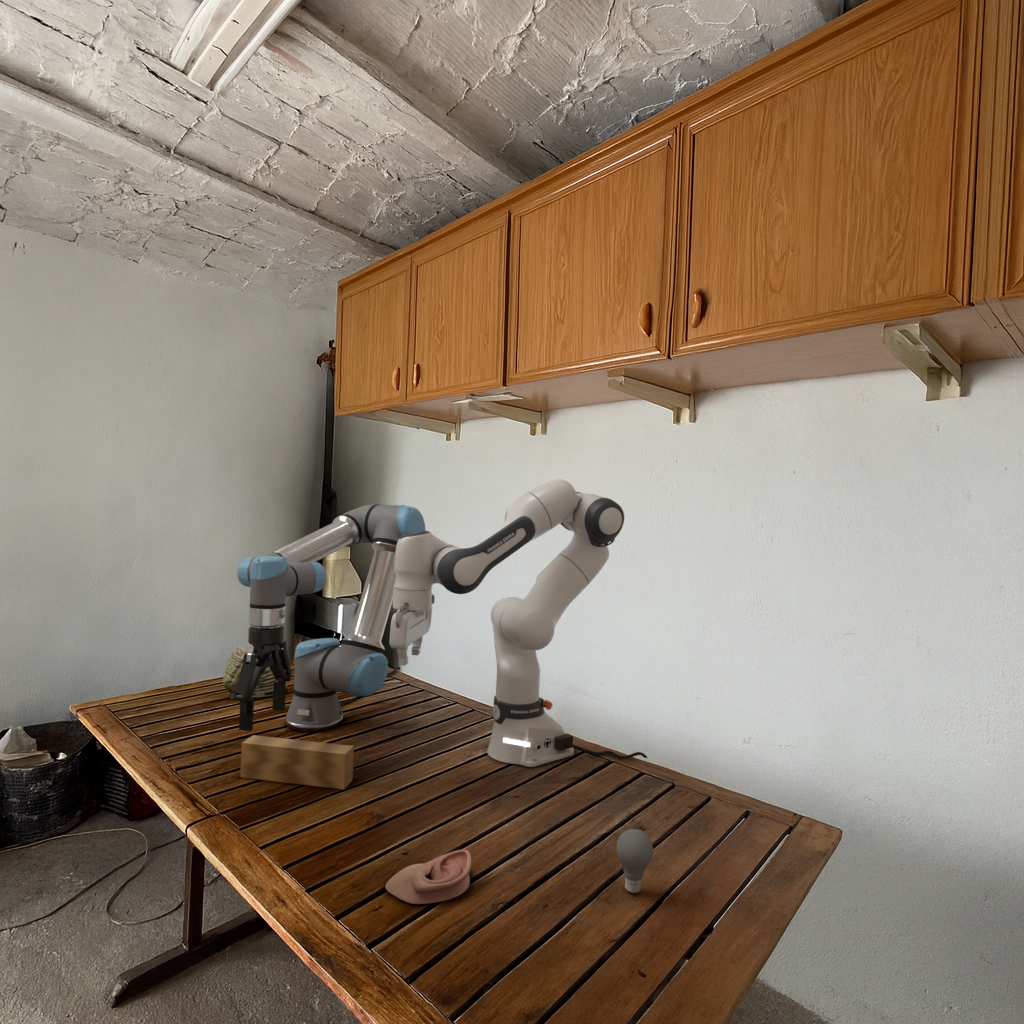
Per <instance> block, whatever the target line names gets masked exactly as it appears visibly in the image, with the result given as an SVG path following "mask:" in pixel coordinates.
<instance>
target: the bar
mask: <svg viewBox="0 0 1024 1024" xmlns="http://www.w3.org/2000/svg"><path fill="white" fill-rule="evenodd" d="M240 750H241V751H240V753H241V754H240V778H244V779H250V780H251V779H252V780H261V781H268V782H276V783H277V782H278V783H285V784H294V785H301V786H302V785H303V786H310V787H312V786H313V787H318V788H319V787H320V788H321V787H322V788H327V789H335V790H336V789H337V790H345V789H346V788H347V787H348V786H349V785H350V784H351V783H352V782H353V781H354V779H353V778H354V760H355V759H354V757H355V756H354V755H355V753H354V752H355V746H354V745H349V744H348V745H347V744H340V743H329V742H321V741H312V740H310V741H309V740H303V739H302V740H301V739H293V738H292V739H291V738H282V737H275V736H274V737H273V736H265V735H257V734H256V735H255V734H253V735H251V736H250V737H248V738H247V739H244V741H242V742H241V749H240Z"/></svg>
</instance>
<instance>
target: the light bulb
mask: <svg viewBox="0 0 1024 1024" xmlns="http://www.w3.org/2000/svg"><path fill="white" fill-rule="evenodd" d="M615 849H616V854H617V857H618V859H619V861H620V863H621V865H622V867H623V873H624V874H623V875H624V876H625V878H624V888H625V890H627V891H628V892H630V893H634V894H635V893H639V892H640V891H641V889H642V887H641V886H642V879H643V877H644V875H645V871H646V868H647V867H648V866H649V864H650V863H651V861H652V859H653V855H654V847H653V843H652V841H651V838H649V836H648V835H647V834H646V833H645V832H643V831H642V830H641V829H636V828H629V829H627V830H625V831H623V832H622V833H621V834H620V835H619V837H618V839H617V841H616V847H615Z"/></svg>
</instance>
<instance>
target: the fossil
mask: <svg viewBox="0 0 1024 1024" xmlns="http://www.w3.org/2000/svg"><path fill="white" fill-rule="evenodd" d="M252 652H253V648H251V647H247V646H246V647H245V646H238V647H237V648H236V649H235V650H233V651H232V653H231V656H230V657H229V659H228V660H227V663H226V666H225V668H224V671H223V675H222V676H223V677H222V685H223V687H224V688H225V690H226V691H228V693H229V698H230V699H233V696H234V693H235V689H236V686H237V682H238V679H239V675H240V672H241V668H242V665H243V658H244V653H252ZM249 664H250V663H249ZM275 681H276V679H275V677H274V675H273V673H272V671H271V669H270V668H269V667H268V668H266V670H265V672H263V673H262V674H261V677H260V679H259V682H258V684H257V686H256V689H255V691H254V694H253V696H252V698H264V697H271V696H272V697H273V685H274V682H275ZM276 682H278V681H276ZM287 687H288V686H287V684H286V688H287ZM239 694H240V693H239Z"/></svg>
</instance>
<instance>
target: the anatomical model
mask: <svg viewBox="0 0 1024 1024" xmlns="http://www.w3.org/2000/svg"><path fill="white" fill-rule="evenodd" d="M471 868H472V856H471V853H470V852H469V850H467V849H457V850H454V851H451V852H450V851H449V852H447V853H445V854H442V855H440V856H437V857H436V858H434V859H431V860H429V861H427V862H424V863H414V864H411V865H408V866H406V867H404V868H402V869H400V870H399V871H398V872H396V873H395V874H394V875H393V876H391V877H390V879H388V880H387V882H386V884H385V890H386V891H387V892H388V893H389V894H390V895H392V896H393V897H395V898H397V899H399V900H401V901H403V902H405V903H407V904H410V905H411V904H412V905H426V904H433V903H439V902H444V901H447V900H451V899H454V898H456V897H459V896H460V895H462V894H463V893H465V892H466V891H467V890H468V889H469V887H470V883H471V881H470V880H471V878H470V871H471Z"/></svg>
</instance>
